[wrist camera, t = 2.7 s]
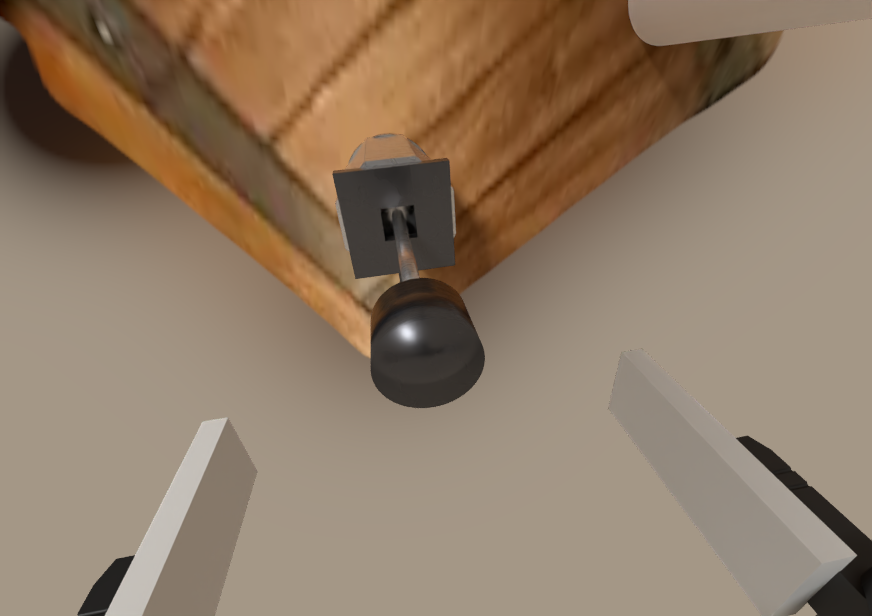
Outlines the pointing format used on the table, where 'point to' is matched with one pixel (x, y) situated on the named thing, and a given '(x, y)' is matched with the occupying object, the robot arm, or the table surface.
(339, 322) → the table surface
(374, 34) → the table surface
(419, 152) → the press carafe
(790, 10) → the cylinder container
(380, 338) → the plunger
